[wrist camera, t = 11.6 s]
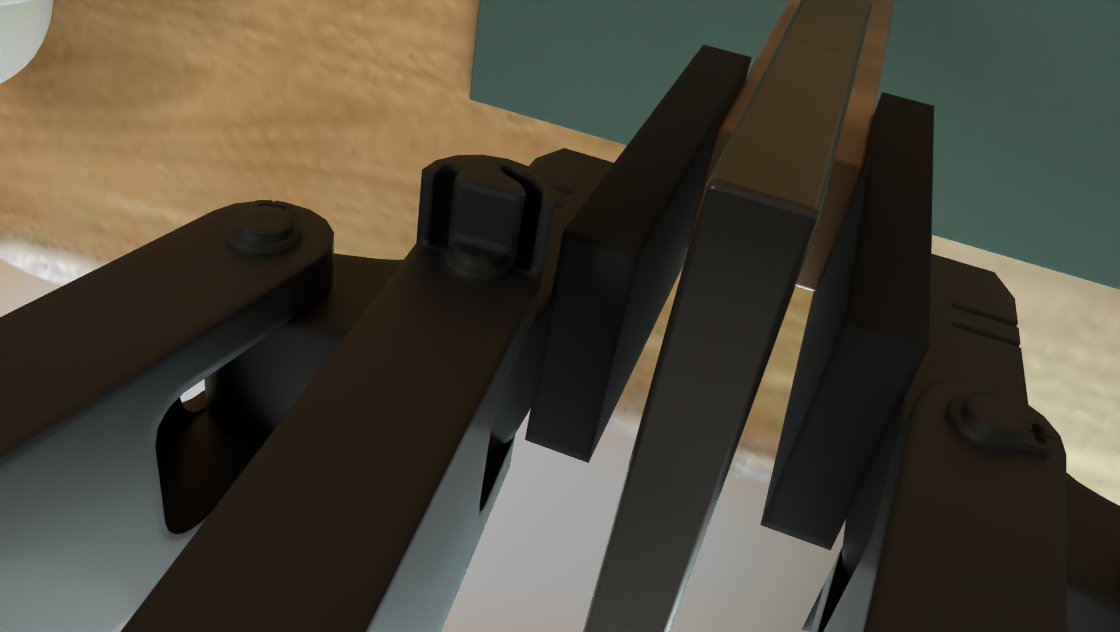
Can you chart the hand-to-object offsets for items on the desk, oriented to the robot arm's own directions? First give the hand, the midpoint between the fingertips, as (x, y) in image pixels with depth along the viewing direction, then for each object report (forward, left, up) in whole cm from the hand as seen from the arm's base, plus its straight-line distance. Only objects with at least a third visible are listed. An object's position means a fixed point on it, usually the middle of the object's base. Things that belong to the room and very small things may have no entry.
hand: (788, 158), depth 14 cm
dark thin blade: (0, 0, -12) cm, 12 cm away
